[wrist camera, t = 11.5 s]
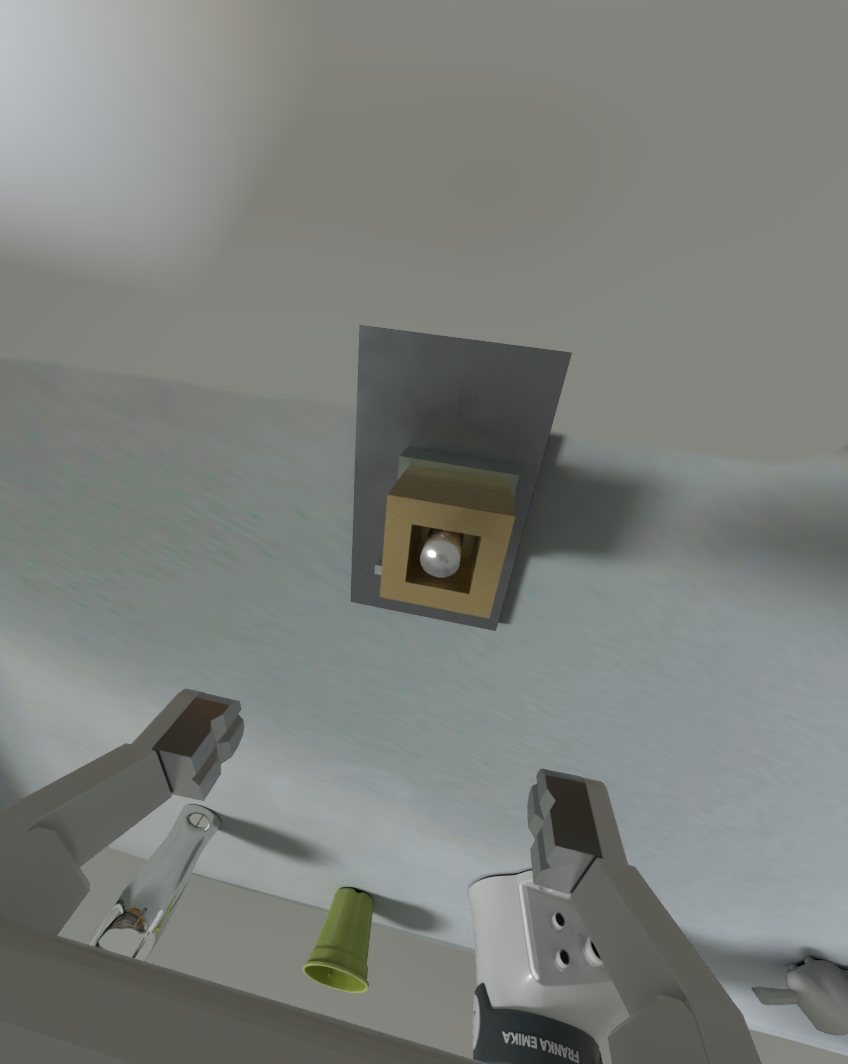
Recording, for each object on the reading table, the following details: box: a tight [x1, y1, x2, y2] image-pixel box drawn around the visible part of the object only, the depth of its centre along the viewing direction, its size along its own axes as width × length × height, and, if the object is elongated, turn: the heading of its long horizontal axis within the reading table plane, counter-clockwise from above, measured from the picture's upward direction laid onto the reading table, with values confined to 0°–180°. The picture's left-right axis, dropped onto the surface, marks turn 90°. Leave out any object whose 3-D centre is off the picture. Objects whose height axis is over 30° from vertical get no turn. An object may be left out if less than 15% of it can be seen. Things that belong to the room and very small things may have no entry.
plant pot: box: [303, 888, 373, 993], centre depth 54 cm, size 9×9×9 cm
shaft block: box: [351, 325, 572, 631], centre depth 22 cm, size 12×20×8 cm, turn 173°
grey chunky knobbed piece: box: [752, 957, 848, 1035], centre depth 43 cm, size 10×5×15 cm
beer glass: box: [88, 804, 221, 962], centre depth 47 cm, size 7×7×15 cm
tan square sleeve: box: [380, 466, 515, 618], centre depth 20 cm, size 6×6×5 cm
